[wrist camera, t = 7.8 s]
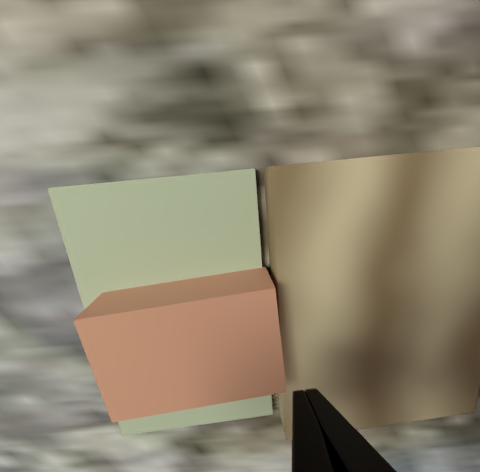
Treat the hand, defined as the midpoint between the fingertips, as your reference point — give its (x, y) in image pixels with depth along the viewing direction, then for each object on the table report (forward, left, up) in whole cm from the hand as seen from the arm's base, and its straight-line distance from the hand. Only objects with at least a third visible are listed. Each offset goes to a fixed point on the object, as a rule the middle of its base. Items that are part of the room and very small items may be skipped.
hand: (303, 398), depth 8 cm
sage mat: (+5, 0, -6) cm, 8 cm away
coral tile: (+4, +1, -6) cm, 7 cm away
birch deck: (-6, 0, -6) cm, 9 cm away
